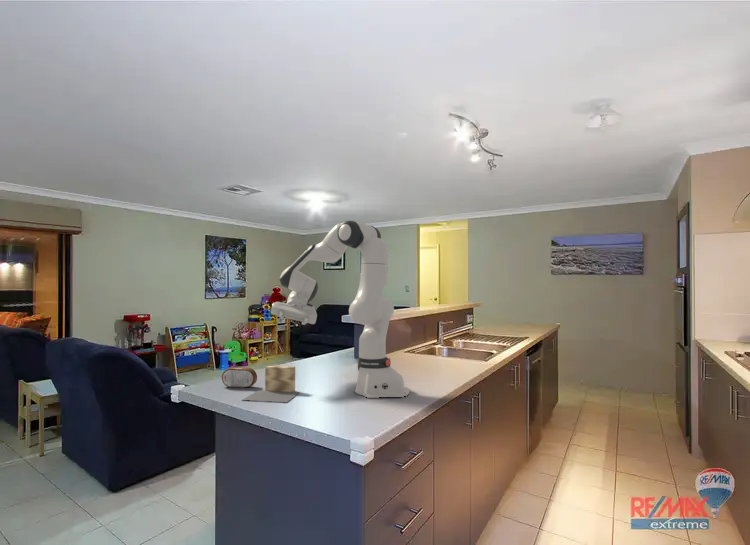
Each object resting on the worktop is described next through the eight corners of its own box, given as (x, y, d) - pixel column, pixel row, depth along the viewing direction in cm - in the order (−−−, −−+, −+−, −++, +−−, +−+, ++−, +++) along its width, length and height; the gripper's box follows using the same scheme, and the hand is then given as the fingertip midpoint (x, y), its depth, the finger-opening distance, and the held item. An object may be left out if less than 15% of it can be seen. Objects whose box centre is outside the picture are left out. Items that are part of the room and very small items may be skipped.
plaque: (295, 390, 155) (295, 366, 155) (292, 392, 152) (293, 368, 153) (268, 389, 157) (268, 365, 157) (265, 391, 154) (265, 367, 154)
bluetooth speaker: (257, 386, 161) (257, 367, 161) (254, 388, 158) (254, 368, 158) (224, 385, 163) (224, 366, 163) (220, 387, 160) (220, 368, 160)
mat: (299, 393, 151) (299, 392, 151) (287, 403, 138) (287, 402, 138) (257, 391, 154) (257, 390, 154) (241, 400, 141) (241, 399, 141)
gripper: (274, 295, 169) (270, 307, 156) (318, 307, 174) (317, 319, 161) (271, 308, 171) (266, 321, 158) (314, 319, 175) (313, 332, 162)
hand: (292, 320), depth 159 cm, fingers open, 8 cm apart
